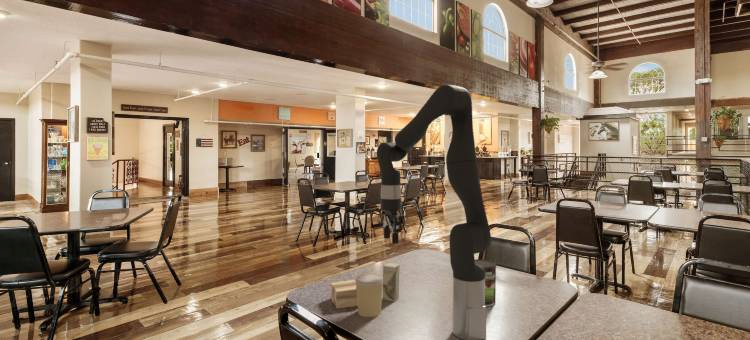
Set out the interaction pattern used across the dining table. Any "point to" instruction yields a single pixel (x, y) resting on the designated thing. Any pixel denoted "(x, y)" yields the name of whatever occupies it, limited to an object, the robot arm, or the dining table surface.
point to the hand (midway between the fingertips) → (390, 240)
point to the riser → (344, 293)
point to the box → (391, 281)
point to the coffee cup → (369, 294)
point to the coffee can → (489, 280)
